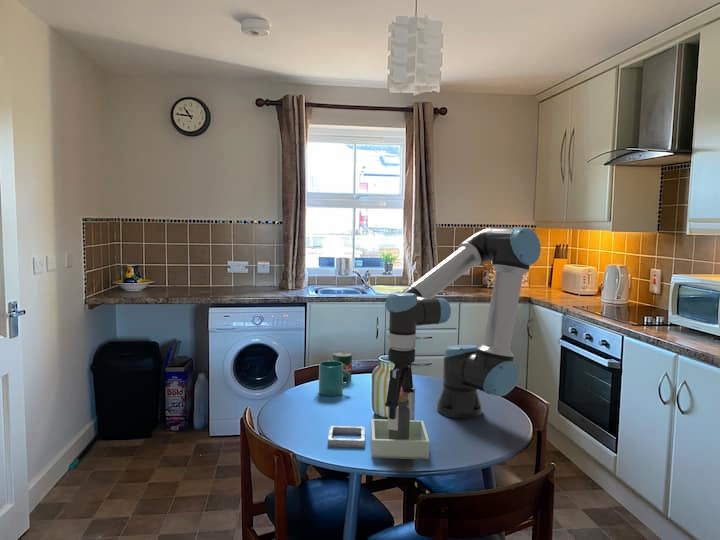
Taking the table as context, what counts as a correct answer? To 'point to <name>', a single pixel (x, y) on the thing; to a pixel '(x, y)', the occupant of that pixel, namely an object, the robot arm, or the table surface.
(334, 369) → the cup
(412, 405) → the supplement box
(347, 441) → the collar
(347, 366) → the canned tomato
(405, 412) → the bottle
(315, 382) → the table surface
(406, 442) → the bin
